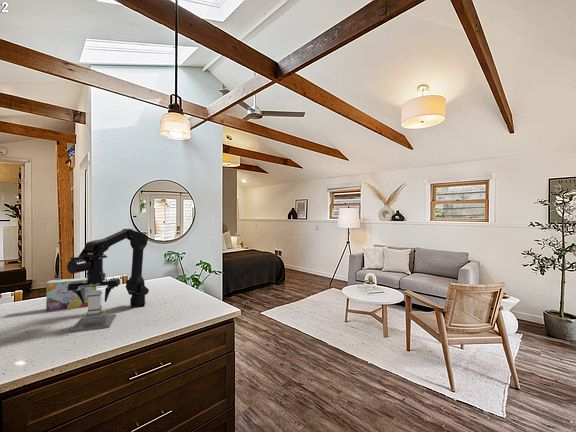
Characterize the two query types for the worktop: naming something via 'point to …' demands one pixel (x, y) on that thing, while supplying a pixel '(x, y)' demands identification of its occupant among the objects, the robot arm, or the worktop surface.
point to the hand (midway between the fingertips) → (95, 302)
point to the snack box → (65, 294)
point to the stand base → (94, 322)
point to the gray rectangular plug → (94, 302)
